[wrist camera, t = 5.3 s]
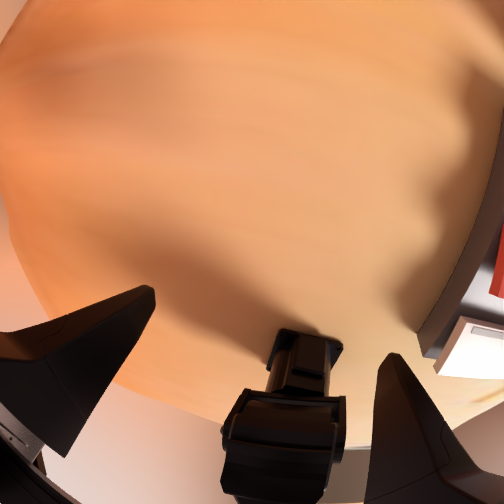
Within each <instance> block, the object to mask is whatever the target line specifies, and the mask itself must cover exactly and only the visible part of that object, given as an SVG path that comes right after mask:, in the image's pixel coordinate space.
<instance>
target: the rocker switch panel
mask: <svg viewBox="0 0 504 504" xmlns="http://www.w3.org/2000/svg"><path fill="white" fill-rule="evenodd" d="M503 224H504V110H503V118H502V125H501V131H500V137H499V142H498V147H497V152H496V156H495V160H494V164H493V168H492V172H491V176H490V180H489V183H488V186H487V190H486V193H485V196H484V199H483V202H482V205H481V208H480V211H479V214H478V216H477V219H476V222H475V224H474V227H473V229H472V232H471V234H470V237H469V239H468V242H467V244H466V246H465V248H464V251H463V253H462V255H461V257H460V259H459V261H458V264H457V266H456V268H455V270H454V272H453V274H452V276H451V278H450V280H449V281H448V283H447V285H446V287H445V289H444V291H443V293H442V294H441V296H440V298H439V300H438V301H437V303H436V305H435V306H434V308H433V310H432V312H431V313H430V315H429V316H428V318H427V320H426V321H425V323H424V324H423V326H422V327H421V329H420V330H419V332H418V334H417V337H418V341H419V344H420V348H421V352H422V356H423V357H424V358H431V359H438V357H439V355H440V354H441V352H442V350H443V348H444V347H445V345H446V343H447V341H448V339H449V337H450V336H451V334H452V332H453V330H454V328H455V326H456V324H457V322H458V320H459V318H460V316H465V317H470V318H474V319H478V320H482V321H486V322H490V323H495V324H499V325H503V326H504V299H502V298H499V297H496V296H494V295H491V294H489V293H488V292H489V289H490V285H491V282H492V278H493V274H494V270H495V265H496V261H497V256H498V251H499V246H500V240H501V234H502V227H503Z"/></svg>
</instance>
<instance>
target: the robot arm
mask: <svg viewBox="0 0 504 504" xmlns="http://www.w3.org/2000/svg"><path fill="white" fill-rule="evenodd" d="M155 306H156V301H155V290H154V288H153V287H150V286H147V285H142V286H139V287H136V288H134V289H131V290H129V291H126V292H123V293H121V294H118V295H116V296H113V297H110V298H108V299H105V300H103V301H100V302H97V303H95V304H92V305H90V306H87V307H85V308H82V309H79V310H77V311H74V312H72V313H69V314H68V315H64V316H61V317H59V318H56V319H53V320H51V321H48V322H45V323H41V324H38V325H35V326H32V327H28V328H25V329H21V330H18V331H14V332H0V503H1V504H81V503H80V502H78V501H77V500H76V499H74V498H73V497H71V496H70V495H69V494H67V493H66V492H65V491H63V490H62V489H61V488H60V487H58V486H57V485H56V484H55V483H53V482H52V481H51V480H50V479H49V478H47V477H46V470H45V466H44V461H43V457H42V452H41V450H42V448H43V446H44V445H45V444H46V445H47V446H49V447H50V448H51V449H52V450H54V451H55V452H57V453H58V454H59V455H61V456H62V457H63V458H65V457H66V455H67V454H68V452H69V450H70V449H71V447H72V445H73V443H74V442H75V440H76V438H77V437H78V435H79V433H80V431H81V430H82V428H83V426H84V425H85V423H86V421H87V419H88V418H89V416H90V415H91V413H92V411H93V409H94V408H95V406H96V405H97V403H98V402H99V400H100V398H101V397H102V395H103V394H104V392H105V390H106V389H107V387H108V386H109V384H110V383H111V381H112V379H113V378H114V376H115V375H116V373H117V372H118V370H119V369H120V367H121V366H122V364H123V363H124V361H125V360H126V358H127V357H128V355H129V353H130V352H131V351H132V349H133V348H134V346H135V345H136V343H137V341H138V340H139V338H140V336H141V334H142V332H143V330H144V329H145V327H146V325H147V323H148V321H149V319H150V317H151V315H152V313H153V312H154V310H155ZM337 347H339V348H337ZM342 351H343V344H342V343H340V342H336V341H332V340H327V339H323V338H319V337H315V336H310V335H306V334H302V333H298V332H295V331H291V330H287V329H280V330H279V331H278V334H277V337H276V340H275V343H274V346H273V349H272V352H271V355H270V358H269V361H268V364H267V367H266V369H267V371H269V372H270V375H269V379H268V383H267V386H266V390H265V392H263V391H255V390H251V389H247V388H245V389H244V390H243V392H242V394H241V395H240V396H239V398H238V399H237V401H236V403H235V405H234V406H233V408H232V410H231V412H230V413H229V415H228V417H227V418H226V420H225V422H224V425H223V426H222V427H221V430H220V432H221V434H222V436H223V437H222V446H223V450H224V451H225V452H226V459H225V463H224V468H223V472H222V475H221V479H220V483H221V486H222V489H223V492H224V493H225V494H230V495H233V496H234V498H235V500H236V501H237V503H238V504H316V503H317V501H319V499H320V498H321V497H322V496H323V493H324V491H325V490H326V488H327V485H328V481H329V476H330V471H331V467H332V464H334V465H335V464H336V465H338V464H340V462H341V460H342V456H343V452H344V447H345V440H346V396H339V397H331V396H329V384H330V371H331V369H332V368H333V366H334V364H335V363H336V361H337V359H338V358H339V356H340V354H341V353H342ZM364 504H504V477H503V476H500V475H496V474H492V473H489V472H486V471H483V470H481V469H480V468H479V467H478V466H477V465H476V464H475V463H474V461H473V460H472V459H471V457H470V456H469V454H468V453H467V452H466V450H465V449H464V448H463V446H462V445H461V444H460V442H459V441H458V439H457V438H456V437H455V435H454V433H453V432H452V430H451V429H450V427H449V426H448V424H447V423H446V421H445V420H444V418H443V416H442V415H441V413H440V412H439V410H438V409H437V407H436V406H435V404H434V402H433V401H432V399H431V398H430V396H429V395H428V393H427V392H426V391H425V389H424V388H423V386H422V385H421V383H420V382H419V380H418V379H417V377H416V376H415V374H414V373H413V372H412V370H411V369H410V367H409V366H408V365H407V363H406V362H405V360H404V359H403V358H402V356H401V355H400V354H398V353H392V352H391V353H389V354H388V355H387V357H386V358H385V359H384V361H383V362H382V364H381V365H380V367H379V369H378V375H377V384H376V392H375V400H374V410H373V430H372V444H371V455H370V465H369V472H368V481H367V487H366V493H365V499H364Z"/></svg>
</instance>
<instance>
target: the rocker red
mask: <svg viewBox="0 0 504 504" xmlns="http://www.w3.org/2000/svg"><path fill="white" fill-rule="evenodd" d="M488 293H489V294H491V295H494V296H496V297H499V298H502V299H504V224H503V227H502V234H501V240H500V246H499V251H498V256H497V261H496V265H495V270H494V274H493V278H492V282H491V285H490V289H489V292H488Z"/></svg>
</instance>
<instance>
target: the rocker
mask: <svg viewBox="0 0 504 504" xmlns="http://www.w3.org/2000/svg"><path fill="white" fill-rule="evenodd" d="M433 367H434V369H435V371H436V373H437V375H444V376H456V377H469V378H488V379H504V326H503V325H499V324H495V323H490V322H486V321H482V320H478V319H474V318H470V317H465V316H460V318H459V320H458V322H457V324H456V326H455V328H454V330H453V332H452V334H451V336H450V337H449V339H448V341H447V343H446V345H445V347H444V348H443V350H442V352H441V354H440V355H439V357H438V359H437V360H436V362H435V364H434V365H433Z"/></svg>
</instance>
